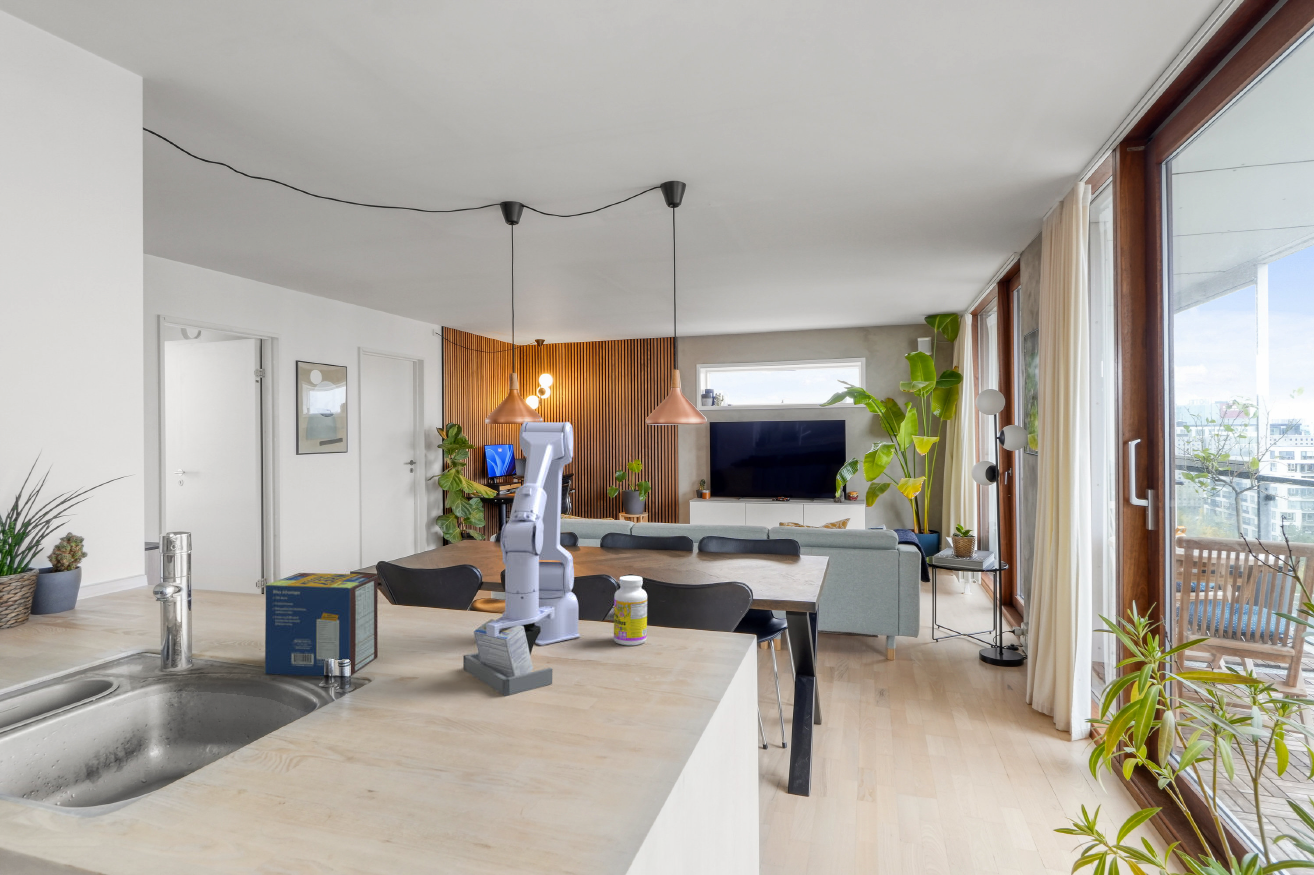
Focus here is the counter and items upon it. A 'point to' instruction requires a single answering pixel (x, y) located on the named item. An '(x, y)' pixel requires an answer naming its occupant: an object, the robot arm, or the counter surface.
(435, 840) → the counter surface
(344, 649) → the protein box
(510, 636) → the medicine box
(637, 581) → the supplement bottle
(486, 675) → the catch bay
